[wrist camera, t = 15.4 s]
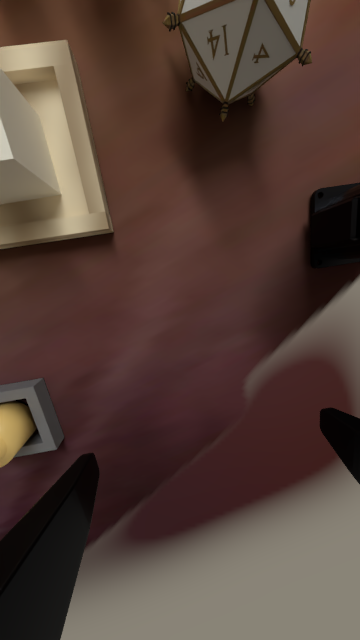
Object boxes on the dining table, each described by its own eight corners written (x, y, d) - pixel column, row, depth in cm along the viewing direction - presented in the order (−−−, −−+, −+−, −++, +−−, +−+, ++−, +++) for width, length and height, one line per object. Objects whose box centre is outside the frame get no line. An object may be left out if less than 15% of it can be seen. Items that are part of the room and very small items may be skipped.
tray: (76, 63, 14) (67, 39, 13) (113, 232, 17) (108, 228, 15) (-87, 83, 14) (-117, 60, 12) (-23, 252, 16) (-41, 250, 15)
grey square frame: (43, 378, 19) (33, 386, 18) (64, 437, 21) (56, 449, 19) (-31, 390, 19) (-47, 400, 18) (-4, 449, 21) (-17, 463, 19)
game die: (216, 137, 19) (231, 166, 13) (145, 27, 14) (114, -13, 8) (317, 18, 14) (424, -33, 8) (257, -204, 10) (396, -757, 3)
